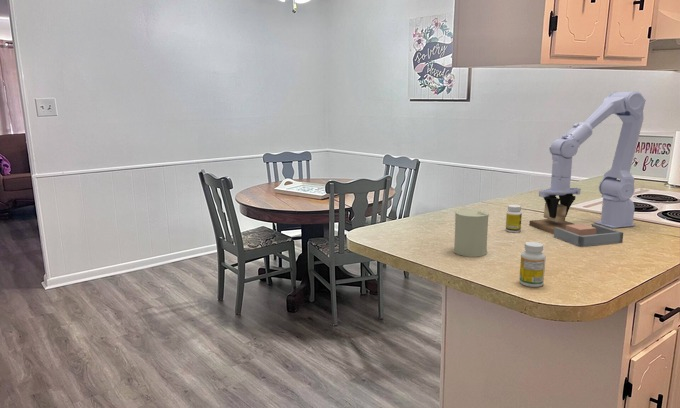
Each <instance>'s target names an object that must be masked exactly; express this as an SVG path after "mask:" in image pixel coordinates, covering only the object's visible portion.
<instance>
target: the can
mask: <svg viewBox="0 0 680 408" xmlns="http://www.w3.org/2000/svg"><path fill="white" fill-rule="evenodd" d="M489 215H490V214H489V212H488V211H486V210H482V209H478V208H477V209H475V208H463V209H458V210H455V212H454V218H455V219H454V220H455V222H454V244H453V245H454V246H453V253H455V254H456V255H458V256H463V257H467V258H468V257H469V258H479V257H484V256H487V254H488V249H487V248H488V225H489Z"/></svg>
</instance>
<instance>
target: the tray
mask: <svg viewBox="0 0 680 408" xmlns="http://www.w3.org/2000/svg"><path fill="white" fill-rule="evenodd" d="M591 227H594V228H596V234H595V235H585V236H581V235H578V234H575V233H572V232H569V231H566V230H563V229H561V228H558V227H555V228H554V234H553V238H556V239H558V240H561V241H564V242H566V243H569V244H572V245H574V246H576V247H579V248H583V247H591V246H601V245H609V244H611V245H613V244H619V243H621V244H622V243H623V241H624V232H622V231H619V230H616V229H614V228H610V227H607V226H604V225H601V224H597V223H591Z"/></svg>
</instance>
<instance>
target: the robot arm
mask: <svg viewBox="0 0 680 408" xmlns="http://www.w3.org/2000/svg"><path fill="white" fill-rule="evenodd" d="M645 104H646V98H645V97H644V96H643V94H642V93H641V92H639V91H636V90H634V91H620V92H619V91H613V92H610V94H609V95H607V96H606V97H604V99H603V102H601V104H600V105H599V106H598V107H597V108H596V109H595V110H594V111H593V112H592V113H591V115H590V116H589V117H587V118H586V119H585V120H584V121H579V122H576V123H574V124H572V127H571V128H570V129H569V130H568V131H567V132H566V133H564V134H562V135H561V138H557V139H555V140H554V141H552V143H551V145H550V146H549V149H548V150H549V153H550V154H551V160H552V163H551V164H552V165H551V177H550V178H551V179H550V187H549V188H547V189H540V190H538V197H541V198H543V200H544V202H545V203H546V204H547V207H548V211H549V216H550V217H551V218H555V217H556V213H557V206H558V204H561V205H564V206H567V208H566V217H567V215H568V213H569V210H570V208H571V206H572V204H573V203H574V201H576V195H581V188H578V187H571V178H572V166H573V165H572V164H573V157H574V156H576V155H577V153H578V149H579V148H580V146H581V145H582V144H583V143H584V142H586V141H587V140H588V139H589V138H590V137H591V136H592V135H593V129H595V128H596V127H597V126H599V124H602V123H603V122H604V121H605V120H606V119H607V118H608V117H610V116H611V115H616V116H617V117H618V118H619V120H621V122H622V124H621V125H622V126H621V129H620V133H619V137H618V140H617V145H616V148H615V151H614V157H613V159H612V164H611V167H610V169H609V170H607V171H606V172H605V173H604V175H603V178H602V180H601V181H600V182H599V185H598V191H599V194H601V197H602V205H601V215H600V220H596V221H594V224H597V225H600V226H603V227H607V228H610V229H617V228H627V227H635V226H636V225H635V223H634V215H635V203H634V202H633V200H632V199H631V198H632V197H633V195H634V193H635V185H634V184H635V181H636V178H635V177H634V176H633V175H632V173H631V172H630V171H631V169H632V164H633V161H634V157H635V153H636V149H637V146H638V142H639V138H640V133H641V130H642V125H643V122H644V107H645Z"/></svg>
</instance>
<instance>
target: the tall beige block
mask: <svg viewBox="0 0 680 408" xmlns="http://www.w3.org/2000/svg"><path fill="white" fill-rule="evenodd" d="M566 208H567V206H564V205H561V204H560V203H558V206H557V213H556V217H555V218H551V217H550V216H549V211H548V207H547V204H546V202H545V203H544V210H543V218H544V219H549V220H552V221H554V222H562V221H566V218H567V216H566Z"/></svg>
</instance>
